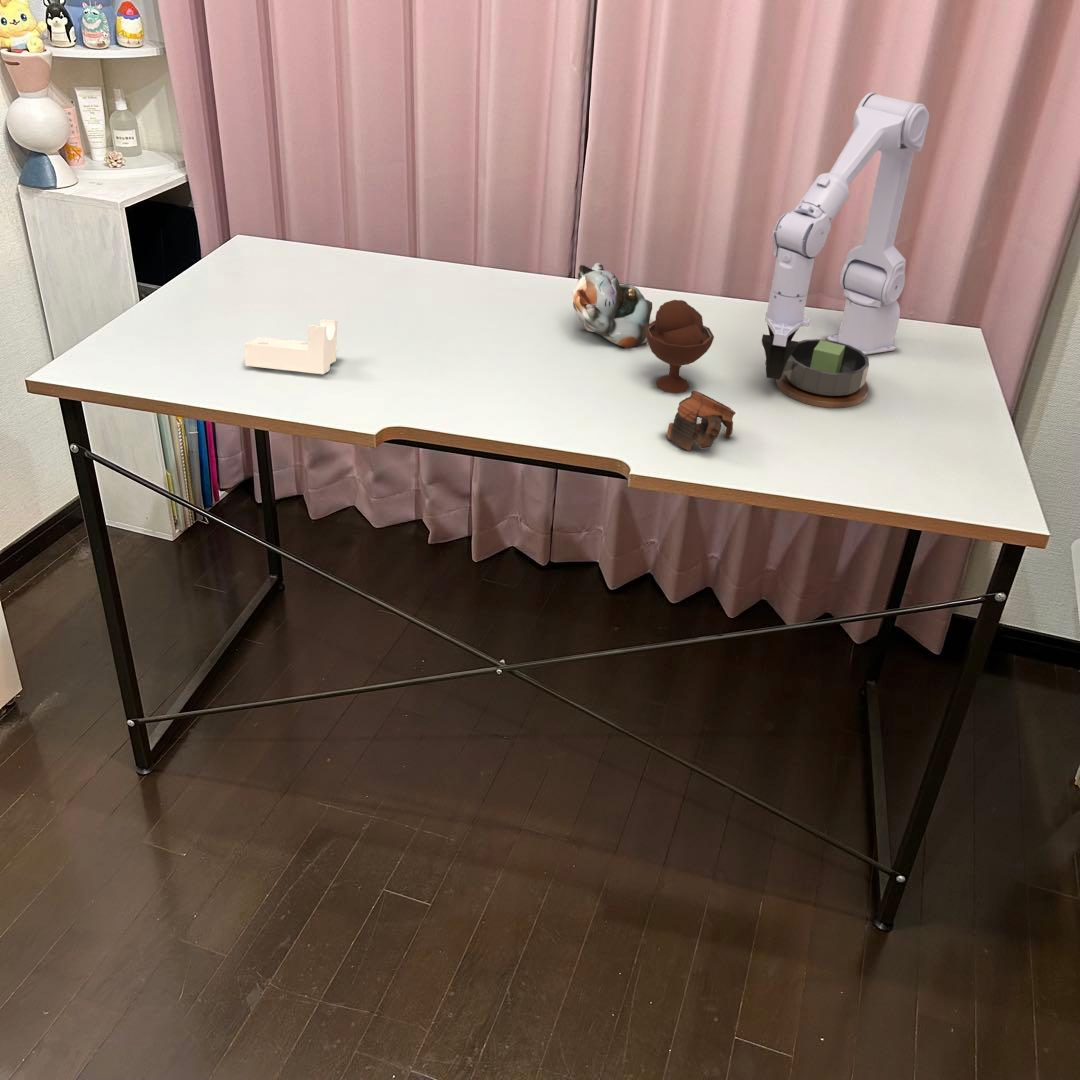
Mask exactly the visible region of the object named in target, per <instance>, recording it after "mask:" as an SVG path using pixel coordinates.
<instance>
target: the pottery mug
mask: <svg viewBox="0 0 1080 1080" xmlns="http://www.w3.org/2000/svg"><path fill="white" fill-rule="evenodd" d="M676 409H677V412H676V414H675V415H674V418H673V422H669V424H668V427H667V432H666V438H667V439H668V440H670V441H671V442H672V443H673V444H674V445H676V446H679V447H680V448H682V449H683V450H686V451H689V452H690V451H691V450H692V448H693V445H694V444H696V445H697V447H698V448H700V449H709V448H711V446H712V445H713V444H714V443H715V441H716V440H717V438H718V436H719V435H720V433H721V430H722V425H723V426H724V427H725V432H724V437H725V438H731V435H732V434H733V430H734V421H733V418H734V415H736V411H734V409H732V408H730V407H729V406H727V405H725V404H724V403H722V402H719V401H717V400H715V399H714V398H711V397H710V396H708V395H706V394H704V393H702V392H700V391H697V390H691V391H690V395H689V396H688V397H685V398H684V399H683V400H681V401H680V402H679V403H678V407H677V408H676ZM698 419H700V422H699V423H698V422H697V421H698Z"/></svg>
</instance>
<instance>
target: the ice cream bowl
mask: <svg viewBox="0 0 1080 1080" xmlns="http://www.w3.org/2000/svg"><path fill="white" fill-rule="evenodd" d="M645 333H646V338H647V344H648V347H649V348H650V350H651V353H652V354H653V355H654V356H655V357H656V358H657V359H659V360H660V361H662V362H663V363H666V364H668V366H669V369H668V373H667V374H665V375H662V376H660V377H658V379H657V380H656V381H655V385H656V387H657V389H659V390H661V391H663V392H665V393H672V394H680V393H685V392H687V391H688V390H689V389H690V383H689V382H688V380H687V379H686V378H684V377H682V376H681V375H680V374H681V368H682V366H688V365H690V364H693V363H695V362H696V361H699V359H700V358H702V356H704V355H705V354H706V353H707V352H708V351H709V350H710V348H711V346H712V344H713V342H714V339H715V336H714V334H713V332H712V331H711V329H710V327H708V326H705V325H704V322H703V315H702V314H701V313H700V312H699V311H698V310H697V309H695V308H694V307H692V306H691V305H690V304H689V303H688V302H687V301H686V300H683V299H680V300H679V299H671V300H669V301H666V302H664V303H662V304H661V305H660V306H659V308H658V310H657V311H656V314H655V320H653V321H652V322H651V323H649V325H648V326H647V327H646V328H645Z"/></svg>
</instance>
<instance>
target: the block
mask: <svg viewBox="0 0 1080 1080" xmlns="http://www.w3.org/2000/svg"><path fill="white" fill-rule="evenodd" d="M823 340H824V339H822V340H820V341H819V343H818V344H817V346H816V347H815V348H814V351H813V356H812V361H811V366H810V368H813V369H816V370H820V371H825V372H833V373H839V372H840V368H841V363H842V359H843V354H844V350H845V346H844V345H840V344H836V343H831V342H827V341H823Z"/></svg>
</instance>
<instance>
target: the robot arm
mask: <svg viewBox="0 0 1080 1080" xmlns="http://www.w3.org/2000/svg"><path fill="white" fill-rule="evenodd" d="M929 121H930V113H929V111H928V109H927V107H926V105H925V104H924V103H920V102H919V103H917V102H912V101H907V100H903V99H900V98H899V99H898V98H894V97H889V96H885V95H882V94H878V93H877V92H873V91H871V92H869V93H867V94H866V95H865V96H863V98H862V99H861V100H860V102H859V103H858V105H857V107H856V110H855V111H854V115H853V121H852V133H851V135H850V136H849V138H848V139H847V141H846V144H845V145H844V146H843V148H842V151H840V154H839V156H838V157H837V159H836V161H835V162H834V164H833V166H832V167H831V169H830V171H829V172H825V173H820V174H819V175H818V176H817V177H816V179H815V180H814V181H813V182H812V184H811V186H810V187H808V190H807V191H806V192H805V194H804V196H803V197H802V198H801V200H800V201H799V202H798V204H797V205H796V207H795V208H794V209H793V210H791V211H789V212H785V213H783V214H782V215H781V216H780V217H779V219H778V220H777V222H776V225H775V226H774V230H773V231H772V235H771V236H772V239H771V240H772V244H773V247H774V249H773V254H772V255H773V258H774V259H775V265H774V271H773V276H772V281H771V289H770V292H769V299H768V304H767V309H766V312H765V314H764V321H765V322H766V325H767V329H768V334H766V333H763V334H762V337H761V344H762V347H763V351H764V355H765V361H766V365H765V373H766V374H765V376H766V378H767V379H770V380H771V379H772V380H776V381H777V380H779V379H780V377H781V376H782V373H783V371H784V368H785V366H786V363H787V361H788V359H789V357H790V356H791V354H792V353H793V352H794V351H795V349H796V348H797V346H798V342H799V341H796V340H793V339H794V336H795V335H796V333H797V332H798V330H799V329H800V328H801V327H809V326H810V323H811V318H810V317H807V316H806V317H805V316H804V315H805V310H806V304H807V298H808V294H809V289H810V285H811V280H812V279H811V278H812V274H813V269H814V264H815V257H816V256H818V255H819V253H820V252H821V251H822V250H823V249H824V246H825V244H826V242H827V239H828V235H829V233H830V231H831V229H832V225H831V224H832V222H833V220H834V219H835V218H836V217H837V215H838V213H839V212H840V210H841V209H842V207H843V206H844V205H845V204H846V202H847V201H848V199H849V197H850V193H851V192H850V188H849V185H850V184H851V183H852V182H853V181H854V179H855V178H856V177H857V176H858V175H859V174H860V173H861V171H863V169H864V168H865V167H866V165H867V164H868V163H869V162H870V160H871V159H872V158H874V156H875V154H876V153H878V151H880V155H881V156H880V159H879V164H878V169H877V175H876V179H875V183H874V188H873V193H872V197H871V198H872V199H871V203H870V207H869V213H868V218H867V221H866V222H867V223H866V228H865V231H864V237H863V241H862V243H860V244H857V245H856V246H854V247H852V248H851V249H850V250H849V251H848V252H847V256H846V260H845V262H844V265H842V268H841V271H840V273H839V274H840V275H839V285H840V287H841V289H842V290H843V296H844V297H846V299H845V302H844V303H845V304H844V308H843V312H842V317H841V322H840V327H839V330H838V331H839V332H838V334H834V335H828V336H827V338H826V340H830V341H836V342H840V343H843V344H847V345H850V346H852V347H854V348H856V349H858V350H860V351H862V352H863V353H864V354H865V355H866V356H867V355H873V354H879V353H887V352H892V351H895V350H896V346H894V341H895V337H896V334H897V330H898V325H899V322H900V318H901V307H900V304H899V302H898V299H899V297H901V294H902V293H903V290H904V287H905V283H906V265H907V260H906V258H905V257H904V256H903V255H902V253H901V252H900V251H899V250H898V249H897V247H896V246H895V241H896V236H897V232H898V228H899V222H900V220H901V219H900V218H901V214H902V209H903V204H904V200H905V196H906V191H907V187H908V181H909V178H910V173H911V168H912V164H913V159H914V155H915V153H920V152H922V150H923V146H924V144H925V140H926V134H927V130H928V125H929Z"/></svg>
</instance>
